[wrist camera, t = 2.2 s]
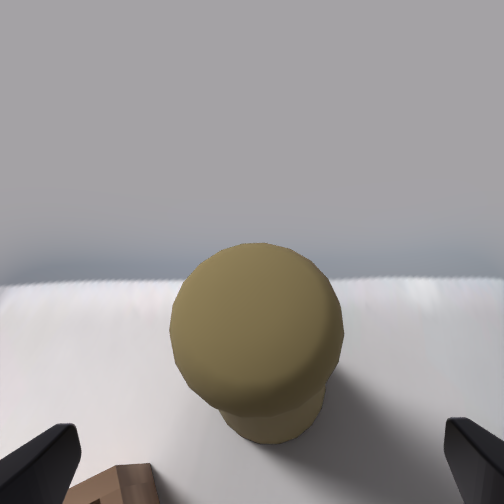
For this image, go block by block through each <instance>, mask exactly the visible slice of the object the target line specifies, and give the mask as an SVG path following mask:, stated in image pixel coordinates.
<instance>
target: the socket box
mask: <svg viewBox="0 0 504 504" xmlns="http://www.w3.org/2000/svg"><path fill="white" fill-rule="evenodd" d="M63 504H160V502H159V498H158V494H157V490H156V486H155V482H154V478H153V474H152V470H151V466H150V463H144V464H129V465H115V466H113V467H111V468H109V469H107V470H105V471H103V472H101V473H99V474H97V475H95V476H93V477H91V478H89V479H87V480H85V481H83V482H81V483H79V484H77V485H75V486H73V487H71V488H69V489H68V491H67V494H66V496H65V499H64V501H63Z"/></svg>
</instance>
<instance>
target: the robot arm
mask: <svg viewBox="0 0 504 504" xmlns="http://www.w3.org/2000/svg"><path fill="white" fill-rule="evenodd" d="M444 453H445V457H446V459H447V462H448V464H449V467H450V469H451V472H452V474H453V477H454V479H455V481H456V484H457V486H458V489H459V491H460V494H461V496H462V499H463V501H464V504H504V441H503V440H501V439H499V438H498V437H496V436H495V435H493V434H492V433H490V432H489V431H487V430H485V429H484V428H482V427H481V426H479V425H478V424H476V423H475V422H473V421H472V420H470V419H468V418H465V417H451V418H448V419H447V421H446V427H445V438H444ZM80 459H81V446H80V441H79V437H78V433H77V429H76V426H75V425H74V424H72V423H60V424H56V425H54V426H53V427H51V428H49V429H48V430H46V431H45V432H43V433H42V434H40V435H39V436H37V437H35V438H34V439H32V440H31V441H29V442H28V443H26V444H24V445H23V446H21V447H20V448H18V449H17V450H15V451H14V452H12V453H10V454H9V455H7V456H6V457H4V458H3V459H1V460H0V504H63V501H64V499H65V496H66V494H67V491H68V489H69V486H70V484H71V481H72V479H73V477H74V474H75V472H76V469H77V467H78V464H79V462H80Z"/></svg>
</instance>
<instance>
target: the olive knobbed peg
mask: <svg viewBox="0 0 504 504" xmlns="http://www.w3.org/2000/svg"><path fill="white" fill-rule="evenodd" d="M169 332H170V338H171V343H172V349H173V354H174V359H175V364H176V365H177V367H178V369H179V371H180V372H181V374H182V376H183V378H184V379H185V381H186V383H187V384H188V386H189V388H191V389H192V390H193V391H194V392H195V393H196V394H198V395H199V396H200V397H201V398H202V399H203V400H205V401H206V402H207V403H208V404H209V405H211V406H212V407H214V408H216V409H218V410H219V411H220V413H221V415H222V416H223V418H224V420H225V421H226V423H227V425H229V426H230V427H231V428H232V429H233V430H234V431H236V432H237V433H238V434H239V435H240V436H241V437H243V438H246V439H249V440H251V441H254V442H256V443H259V444H280V443H283V442H286V441H289V440H291V439H294V438H297V437H298V436H299V435H301V434H302V433H303V432H304V431H305V430H306V429H308V428H309V427H310V426H311V425H312V424H313V422H314V420H315V419H316V417H317V415H318V414H319V412H320V410H321V409H322V404H323V399H324V395H325V390H326V388H325V384H326V382H327V380H328V379H329V377H330V375H331V374H332V372H333V370H334V369H335V367H336V365H337V364H338V362H339V357H340V353H341V348H342V343H343V338H344V328H343V320H342V312H341V306H340V303H339V301H338V298H337V296H336V294H335V292H334V290H333V288H332V286H331V284H330V282H329V280H328V278H327V277H326V276H325V275H324V274H323V273H322V272H321V271H320V270H319V269H318V268H317V267H316V266H315V264H314V263H312V261H310V260H309V259H307V258H305V257H303V256H301V255H300V254H298V253H296V252H295V251H293V250H291V249H288V248H284V247H280V246H276V245H272V244H267V243H249V244H240V245H237V246H234V247H230V248H227V249H224V250H221V251H219V252H218V253H216V254H215V255H213V256H211V257H210V258H208V259H207V260H205V261H204V262H202V263H201V264H200V265H199V266H198V267H197V268H196V269H195V270H194V271H193V272H192V273H191V275H190V276H189V277H188V278H187V279H186V280H185V281H184V282H183V284H182V287H181V289H180V291H179V293H178V295H177V297H176V299H175V301H174V303H173V307H172V314H171V322H170V329H169Z"/></svg>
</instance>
